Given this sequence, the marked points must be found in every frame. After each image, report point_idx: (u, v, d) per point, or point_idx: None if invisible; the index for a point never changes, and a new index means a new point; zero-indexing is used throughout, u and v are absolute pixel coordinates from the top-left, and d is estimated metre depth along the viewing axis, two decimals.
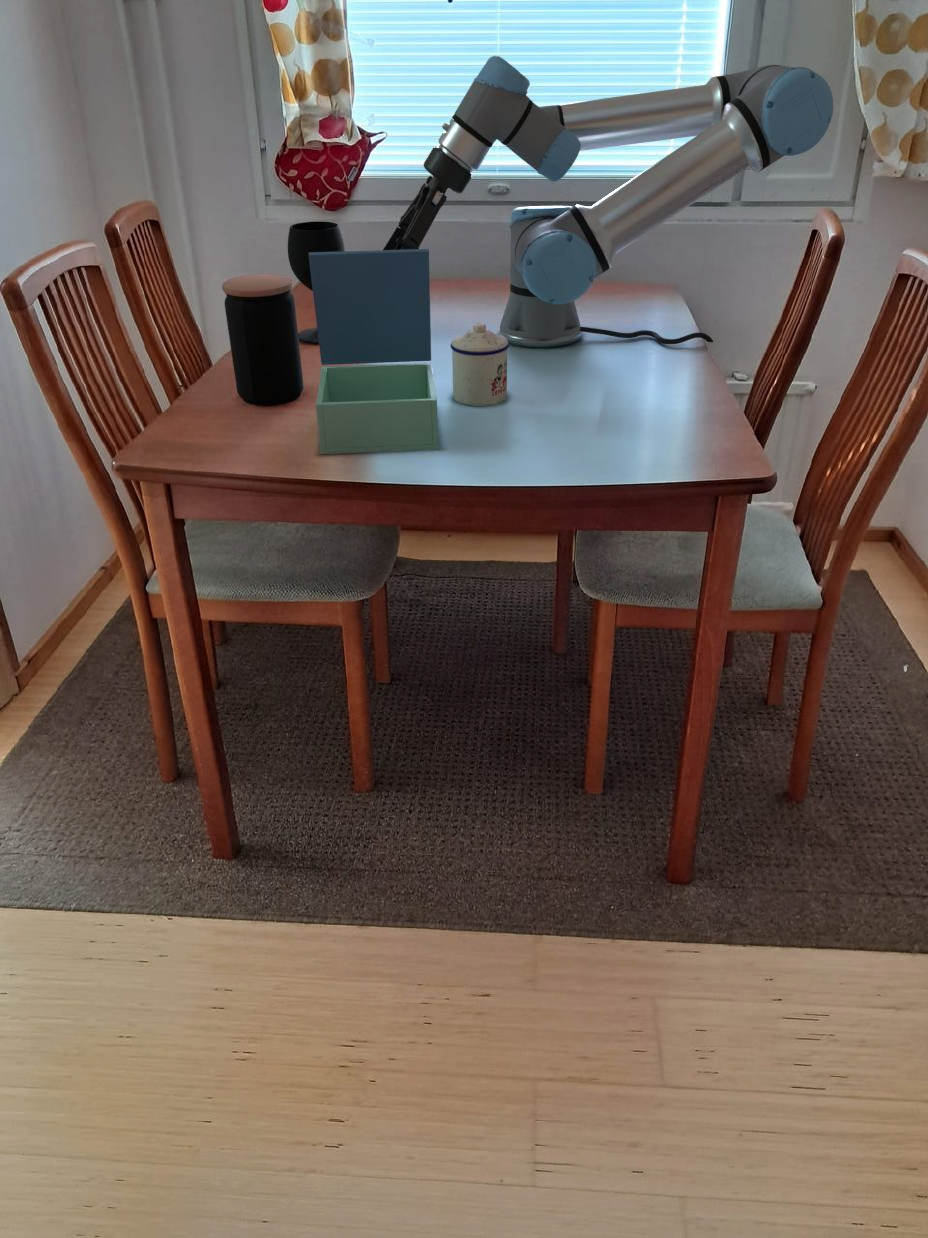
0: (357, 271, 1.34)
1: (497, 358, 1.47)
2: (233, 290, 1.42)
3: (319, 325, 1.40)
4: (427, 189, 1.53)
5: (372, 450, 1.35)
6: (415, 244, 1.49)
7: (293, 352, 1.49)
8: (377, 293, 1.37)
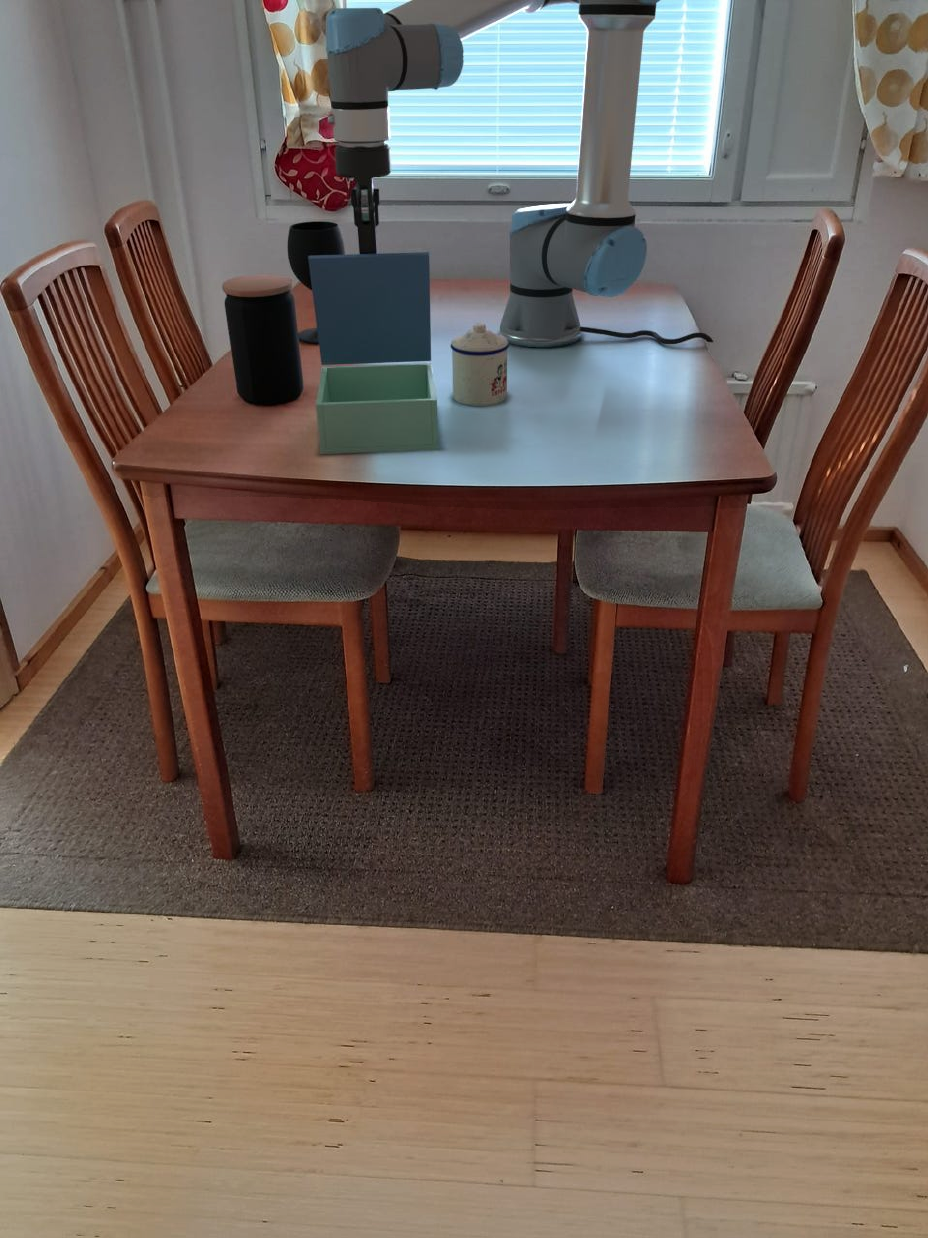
0: (357, 274, 1.34)
1: (497, 358, 1.47)
2: (233, 290, 1.42)
3: (319, 326, 1.39)
4: (355, 194, 1.31)
5: (372, 450, 1.35)
6: None
7: (293, 352, 1.49)
8: (377, 295, 1.36)
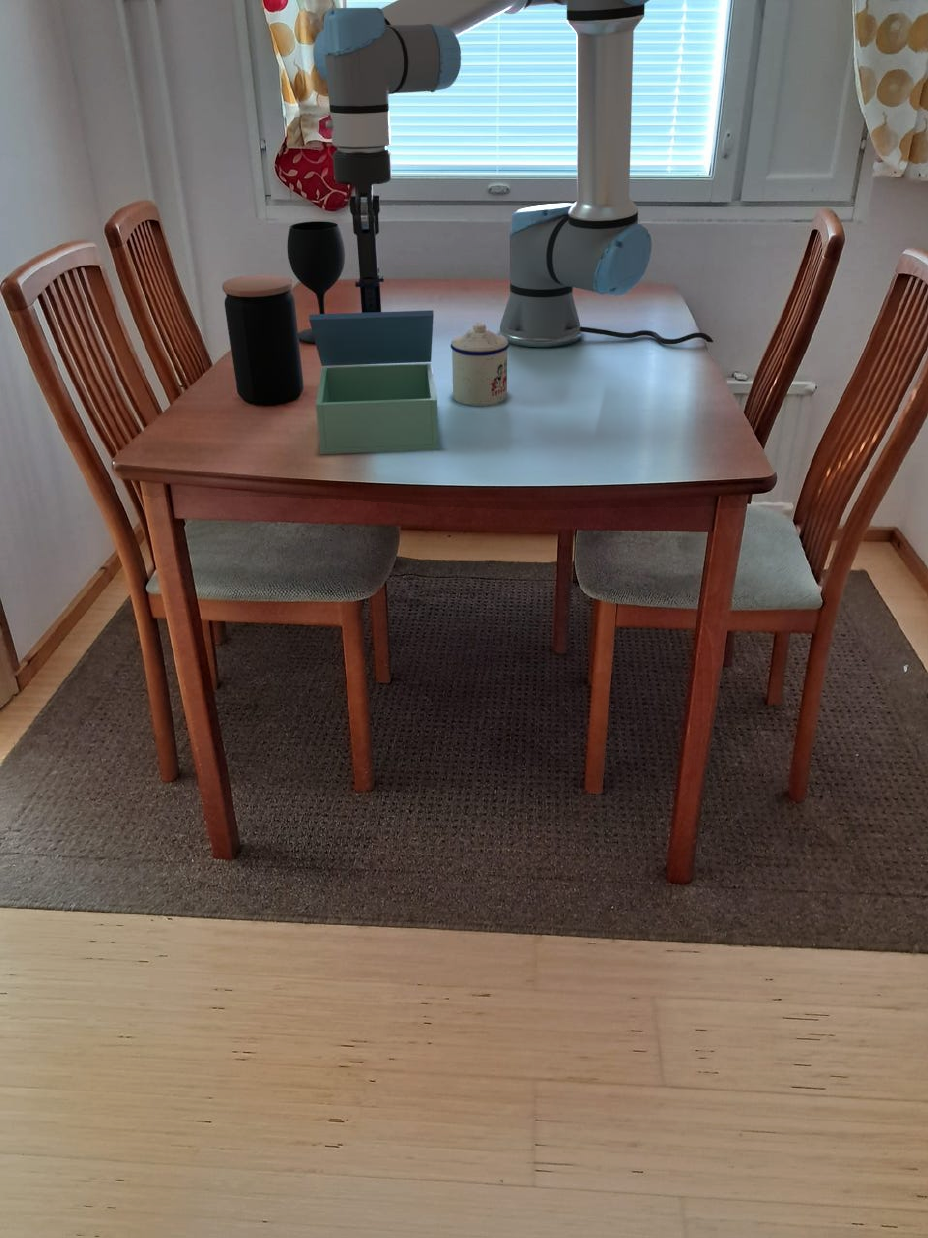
0: (359, 326, 1.30)
1: (497, 358, 1.47)
2: (233, 290, 1.42)
3: (320, 349, 1.38)
4: (354, 202, 1.25)
5: (372, 450, 1.35)
6: (373, 277, 1.29)
7: (293, 352, 1.49)
8: (379, 335, 1.34)
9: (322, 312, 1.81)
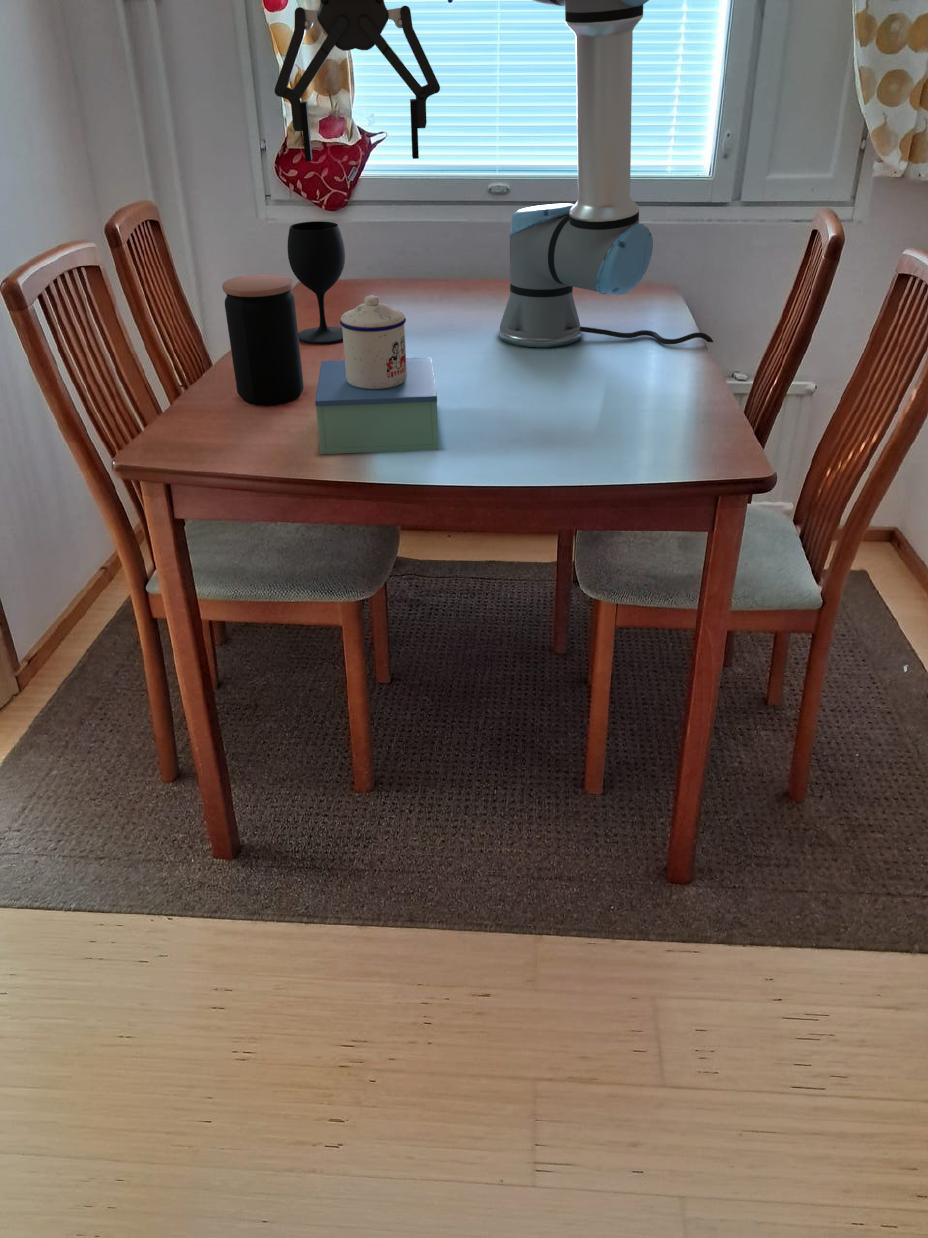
0: None
1: (392, 335, 1.30)
2: (233, 290, 1.42)
3: None
4: None
5: (372, 450, 1.35)
6: None
7: (293, 352, 1.49)
8: None
9: (322, 312, 1.81)
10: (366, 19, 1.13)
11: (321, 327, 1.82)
